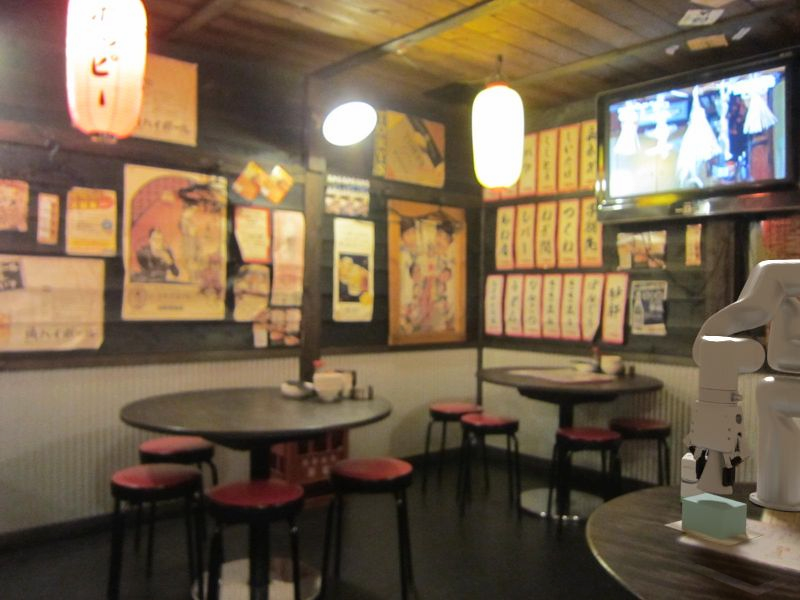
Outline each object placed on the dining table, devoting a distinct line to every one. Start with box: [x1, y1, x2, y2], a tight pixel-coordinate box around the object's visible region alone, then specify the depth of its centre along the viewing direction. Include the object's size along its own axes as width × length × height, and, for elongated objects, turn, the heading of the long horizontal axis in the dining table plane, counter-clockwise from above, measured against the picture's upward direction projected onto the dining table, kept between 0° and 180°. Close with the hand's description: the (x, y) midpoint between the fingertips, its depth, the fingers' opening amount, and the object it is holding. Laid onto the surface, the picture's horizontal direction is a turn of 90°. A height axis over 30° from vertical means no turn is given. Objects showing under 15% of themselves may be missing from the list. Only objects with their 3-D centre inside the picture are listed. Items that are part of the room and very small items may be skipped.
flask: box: [696, 450, 734, 495], centre depth 140 cm, size 7×7×10 cm
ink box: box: [680, 452, 708, 503], centre depth 161 cm, size 9×5×12 cm, turn 148°
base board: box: [664, 519, 765, 548], centre depth 140 cm, size 14×14×1 cm
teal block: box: [681, 492, 748, 540], centre depth 140 cm, size 9×9×6 cm
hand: (714, 481), depth 140 cm, fingers closed on flask, 5 cm apart
